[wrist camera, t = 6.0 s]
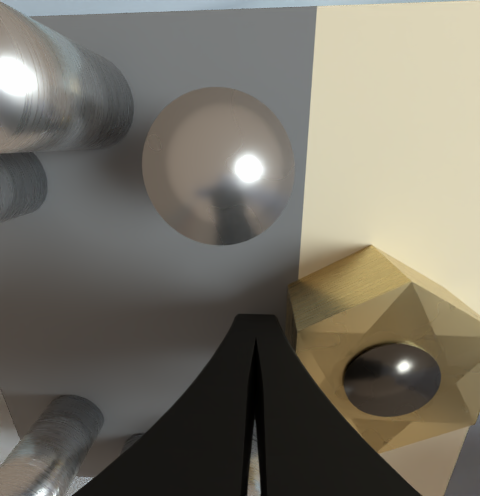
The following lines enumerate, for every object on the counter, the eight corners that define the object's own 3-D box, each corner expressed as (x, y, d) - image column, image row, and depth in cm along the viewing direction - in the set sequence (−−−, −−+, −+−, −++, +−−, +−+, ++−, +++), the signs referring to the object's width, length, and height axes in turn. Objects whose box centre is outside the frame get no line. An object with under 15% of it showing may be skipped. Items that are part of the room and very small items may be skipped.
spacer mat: (610, 2, 7) (630, -6, 6) (437, 488, 13) (442, 499, 13) (-123, 28, 8) (-142, 22, 8) (39, 464, 14) (33, 473, 14)
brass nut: (455, 245, 9) (531, 285, 6) (417, 390, 11) (463, 463, 8) (289, 243, 9) (301, 281, 7) (282, 385, 11) (289, 454, 9)
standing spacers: (282, 46, 7) (307, -55, 3) (266, 476, 13) (269, 612, 9) (-67, 56, 8) (-369, -23, 4) (65, 464, 14) (-9, 588, 10)
